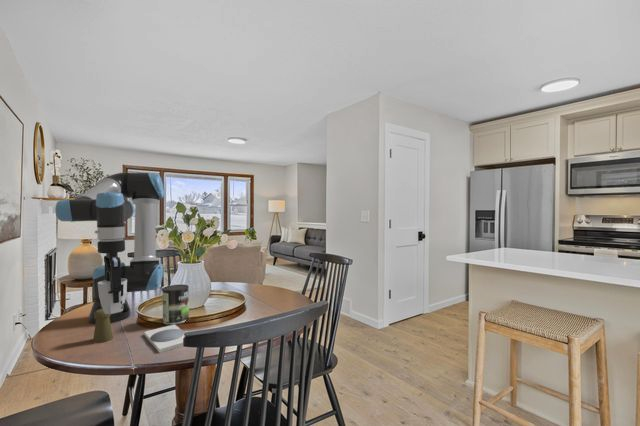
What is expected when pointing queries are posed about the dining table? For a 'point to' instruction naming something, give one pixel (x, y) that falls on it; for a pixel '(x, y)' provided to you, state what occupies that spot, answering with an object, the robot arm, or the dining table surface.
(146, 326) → the dining table surface
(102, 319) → the olive peg figure
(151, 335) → the board
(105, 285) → the cup
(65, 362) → the dining table surface
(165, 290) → the coffee can
